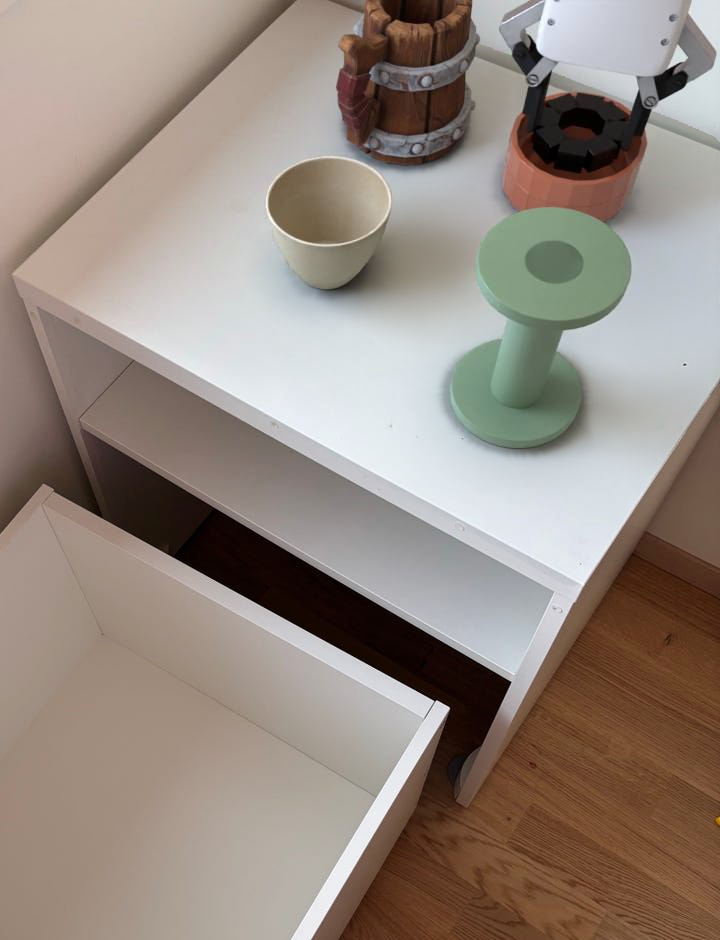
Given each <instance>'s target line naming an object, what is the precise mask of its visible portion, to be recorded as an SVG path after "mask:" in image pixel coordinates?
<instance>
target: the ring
mask: <svg viewBox="0 0 720 940" xmlns="http://www.w3.org/2000/svg"><path fill="white" fill-rule="evenodd" d="M576 92H577V95H576V98H574V97H573V96H572V95H571V93H568V94H565V95H562V96H560V97H557V98H555V99H552V100H550V101H547V102H546V105H545V107H544V106H543V108H542V111H541V114H540V117H539V120H538V122H537V126H536V130H535V132H534V131H533V135H532V139H531V143H533V147H532V149H533V150H534V151H535V152H536V153H537V154H538V156H539V157H540V158H541V159H542V160H543V161H544V163H545V164H546V165H548V164H550V163H553V162H555V163H554V167H553V168H554V169H558V170H563V171H568V172H573V173H578V174H581V172H582V169H583V168H584V169H585V170H586V171H587V172H588V173H591V172H593V171H596V170H598V169H601V168H603V167H606V166H608V165H611V164H612V162H613V159H617V158H618V155H619V152H620V149H621V148H620V146H621V143H622V140H623V136H624V133H625V130H626V126H627V123H628V122H625V121H626V118H627V117H626V116H625V114H624V113H623V112H622V111H621V110H620V109H619V108H618V107H617V106H616V105H615V104H614V103H613V102H612V101H609V102H606V103H604V104H603V102H604V99H605V97H606V96H605V97H601V96H596V95H590V94H585V93H580V92H581V91H576ZM570 126H577V127H582V128H587V129H591V131H592V132H593V133H594V134H595V135H596V137H593V138H591V139H588V140H582V139H577V138H572V137H567V135H566V134H565V133H564V132H563V131H562V130H563V129H565V128H568V127H570Z"/></svg>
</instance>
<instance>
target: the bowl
mask: <svg viewBox="0 0 720 940" xmlns="http://www.w3.org/2000/svg"><path fill="white" fill-rule="evenodd" d="M577 92H578V91H566V92H565V91H564V92H559V93H554V94H551V95H546V98H545V102H544V107H545V105H546V102H547V101H550V100H552V99H555V98H557V97H560V96H562V95H565V94H568V93H571V95H572V96H573V97H574V98H576V95H577ZM579 92H580V93H585V94H590V95H596V96H601V97H605V99H604V102H603V104H604V103H606V102H609V101H612V102H613V103H614V104H615V105H616V106H617V107H618V108H619V109H620V110H621V111H622V112H623V113H624V114H625V116H626V117H627V118H626V121H625V122H628V120H629V117H630V114H631V111H632V110H630V109H629V108H628V107H627V106H626V105H624V104H622V103H621V102H619V101H616V100H614V99H612V98H610V97H607V96H605V95H602V94H596V93H591V92H585V91H579ZM522 112H523V110H522V111H521V112H520V113H519V114H518V115H517V116H516V117H515V120H514V122H513V124H512V128H511V131H510V135H509V140H508V144H507V149H506V152H505V153H506V154H505V158H504V163H503V166H502V167H503V168H502V172H501V182H502V183H501V184H502V190H503V192H504V195H505V196H506V198H507V200H508V202H509V203H510V205H511V206H513V208H515V209H516V210H517V212H521V211H524V210H528V209H533V208H541V207H557V208H566V209H572V210H575V211H579V212H582V213H585V214H588V215H590V216H592V217H594V218H596V219H598V220H600V221H602V222H603V223H605V221H607V220H609V219H611V218H612V217H614V216H616V215H617V214H618V213H619V212H620V211H621V210H622V209H623V207H624V206H625V205H626V204H627V203H628V201H629V198H630V196H631V193H632V190H633V188H634V185H635V182H636V179H637V176H638V173H639V171H640V169H641V166H642V163H643V160H644V157H645V154H646V150H647V147H648V139H647V138H648V137H647V133H646V129H645V130H644V133H643V136H642V137H638V136H633V138H632V141H631V144H630V147H629V150H628V152H626V151H622V149H620V152H619V155H618V158H617V159H613V162H612V164H611V165H608V166H606V167H603V168H601V169H598V170H596V171H593V172H591V173H588V172H587V171H586V170H585V169H584V168H583V169H582V172H581V174H578V173H573V172H568V171H563V170H558V169H554V168H553V167H554V163H555V162H553V163H550V164H548V165H546V164H545V163H544V161H543V160H542V159H541V158H540V157H539V156H538V154H537V153H536V152H535V151H534V150H533V149H532V147H533V143H531V139H532V135H533V132H532V133H530V132H526V129H527V125H528V120H529V116H530V115H525V114H522ZM562 131H563V132H564V133H565V134H566V135H567V137H572V138H577V139H582V140H588V139H591V138H593V137H596V135H595V134H594V133H593V132H592V131H591V129H587V128H582V127H577V126H570V127H568V128H565V129H563V130H562Z"/></svg>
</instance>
